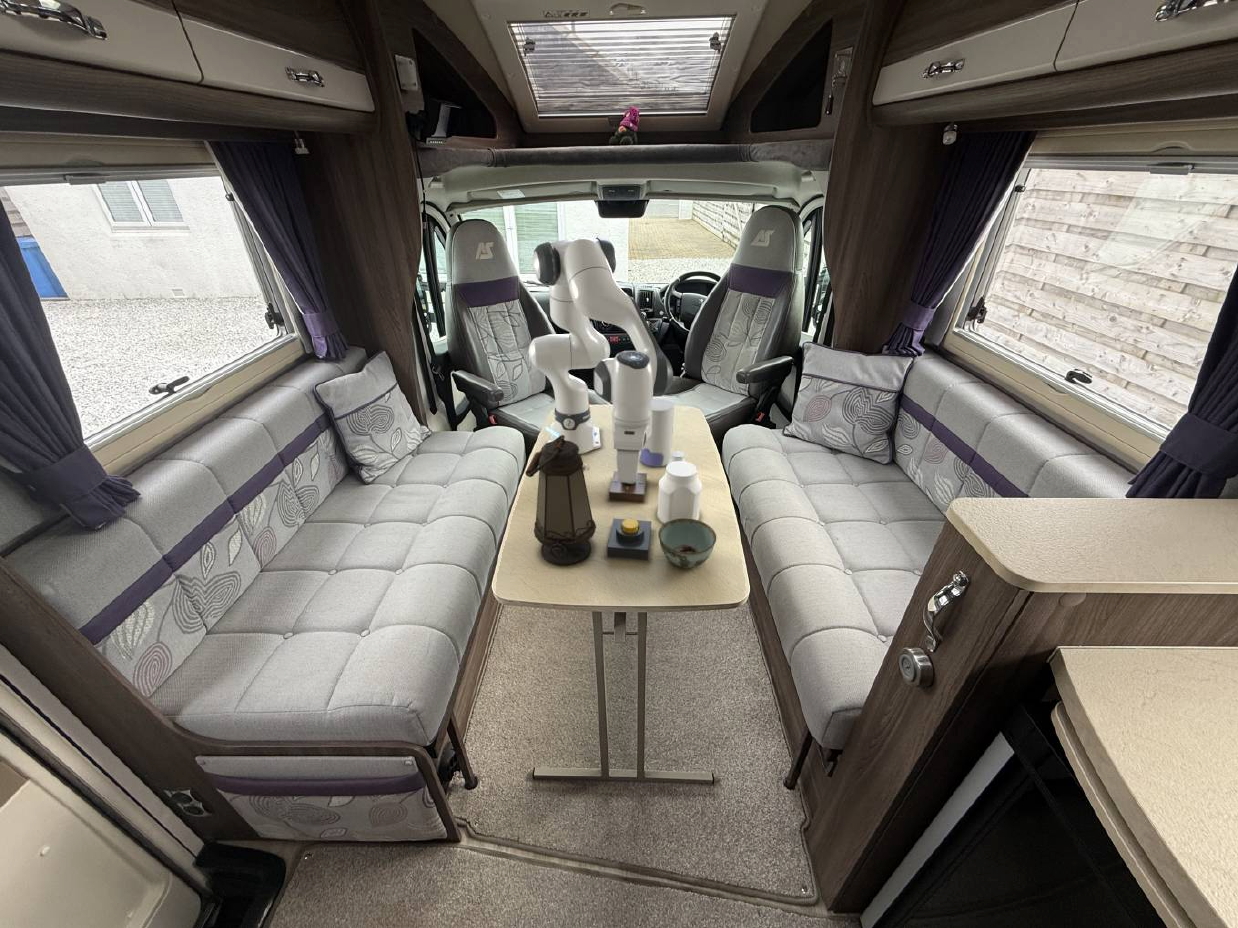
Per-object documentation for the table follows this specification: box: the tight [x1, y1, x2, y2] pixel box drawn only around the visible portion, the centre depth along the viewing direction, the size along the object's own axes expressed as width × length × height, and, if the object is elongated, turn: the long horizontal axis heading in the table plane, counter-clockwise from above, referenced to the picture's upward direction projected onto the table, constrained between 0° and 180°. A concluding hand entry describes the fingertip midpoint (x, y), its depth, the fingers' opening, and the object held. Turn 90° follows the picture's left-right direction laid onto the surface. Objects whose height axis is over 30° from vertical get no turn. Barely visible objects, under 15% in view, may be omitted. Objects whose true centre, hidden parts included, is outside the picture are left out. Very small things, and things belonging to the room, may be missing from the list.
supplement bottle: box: [667, 450, 687, 465], centre depth 151 cm, size 5×5×10 cm
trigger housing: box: [606, 518, 652, 561], centre depth 126 cm, size 12×10×5 cm
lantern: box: [524, 435, 597, 567], centre depth 118 cm, size 18×15×30 cm
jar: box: [656, 460, 703, 524], centre depth 134 cm, size 12×10×15 cm
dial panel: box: [608, 470, 648, 504], centre depth 148 cm, size 12×10×3 cm
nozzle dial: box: [621, 481, 636, 486], centre depth 147 cm, size 4×4×4 cm
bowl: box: [658, 518, 717, 570], centre depth 119 cm, size 14×13×8 cm
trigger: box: [622, 518, 638, 533], centre depth 124 cm, size 4×4×2 cm
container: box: [640, 398, 675, 468], centre depth 161 cm, size 10×10×20 cm
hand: (631, 479), depth 118 cm, fingers closed
